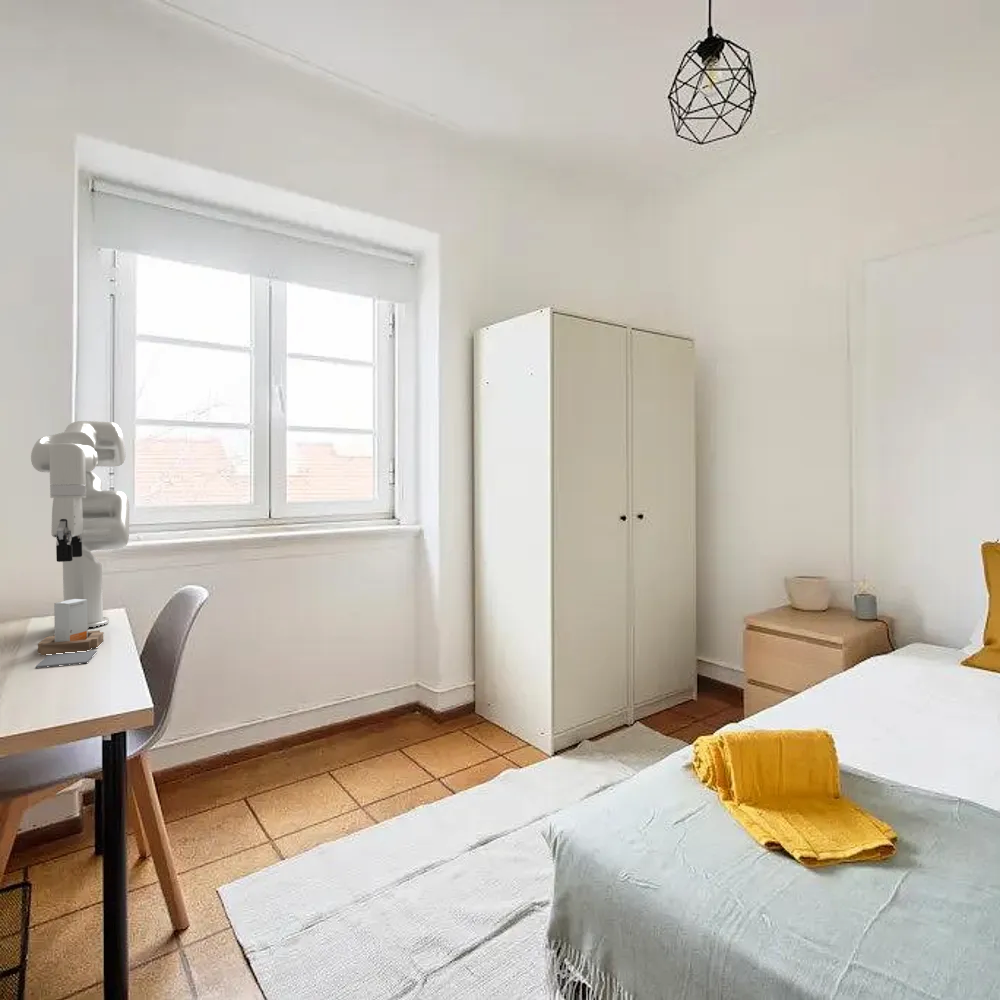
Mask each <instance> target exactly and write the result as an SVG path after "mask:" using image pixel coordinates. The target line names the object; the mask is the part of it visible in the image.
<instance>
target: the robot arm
mask: <svg viewBox="0 0 1000 1000" xmlns="http://www.w3.org/2000/svg"><path fill="white" fill-rule="evenodd" d="M125 447H126V445H125V438H124V434H123V432H122V428H121V427H119V425H118V424H117V423H115V422H112V421H99V420H98V421H95V420H93V421H92V420H78V421H73V422H72V423H71V422H70V423H69V424H68V425H67V426H66V428H65V429H64V431H63V432H60V433H55V434H51V435H50V434H49V435H46V436H43V437H40V438H39V439H37V440H36V442H35V443H34V445H33V447H32V449H31V452H30V460H31V465H32V467H33V469H35V470H36V471H37V472H41V473H49V494H50V495H49V497H50V498H51V499H52V505H51V536H52V537H53V538H56V541H55V542H56V545H55V546H56V547H55V550H56V562H59V563H60V562H61V563H62V582H63V583H62V587H63V601H66V600H72V599H86V600H87V614H88V615H87V617H88V629H90V628H89V627H93V628H97V627H96V626H98V627H101V626H100V625H102V626H105V625H108V624H109V623H110V618H108V617H106V616H104V612H103V611H104V609H103V607H104V606H103V605H104V604H103V599H104V598H103V568H102V563H101V561H100V559H98V557H97V556H95V555H94V554H93V553H92V551H102V550H119V549H123V548H125V547H126V546H127V545H128V543H129V540H130V539H129V537H130V501H129V498H128V496H127V494H126V493H125V492H123V491H120V490H103V483H102V482H103V481H102V480H101V479H100V477H98V476H97V475H96V474H95V473H94V472H93V471H94V469H95V468H97V467H120V466H121V465H123V464H124V463H125V460H126V448H125ZM108 622H109V623H108ZM104 624H105V625H104Z"/></svg>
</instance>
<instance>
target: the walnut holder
mask: <svg viewBox="0 0 1000 1000" xmlns="http://www.w3.org/2000/svg"><path fill="white" fill-rule="evenodd" d="M102 642H103V643H104V631H101V630H88V638H87V639H86V640H76V641H64V642H55V634H53V635H51V636H46V637H44V638H43V639H42V640H40V641H39V642H38V643H37V654H38V653H40V656H41V655H45V656H47V655H46V654H56V653H65V652H77V651H87V650H90V649H91V648H96V647H98V646H99V645H100V644H101V643H102ZM103 643H102V644H103ZM102 644H101V645H102ZM101 645H100V646H101ZM100 646H99V647H100ZM99 647H98V648H99ZM91 650H92V649H91ZM91 650H90V651H91Z"/></svg>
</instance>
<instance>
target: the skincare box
mask: <svg viewBox="0 0 1000 1000" xmlns="http://www.w3.org/2000/svg"><path fill="white" fill-rule="evenodd" d="M53 606H54V612H53V613H54V635H55V642H64V641H76V640H86V639H87V638H88V631H89V630H88V629H89V628H88V617H87V615H88V614H87V600H86V599H72V600H66V601H64V600H62V601H58V602H55V603H54V605H53Z"/></svg>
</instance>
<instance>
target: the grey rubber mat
mask: <svg viewBox="0 0 1000 1000" xmlns="http://www.w3.org/2000/svg"><path fill="white" fill-rule="evenodd" d="M96 652H98V650H90V651H86V652H75V653H63V654H52V655H46V656H45V657H44V658H43V659H42V660H41V661H40V662H39V663H37V665H35V669H38V668H37V667H46V668H48V667H47V666H57V667H60V666H59V665H67V666H70V665H69V664H78V665H80V664H79V663H87V662H88V661H89V660H90V659H91V658H92V656H93V655H94V654H95V653H96ZM96 654H97V653H96ZM96 654H95V655H96ZM95 655H94V656H95ZM94 656H93V657H94ZM92 659H93V658H92ZM92 659H91V660H92ZM91 660H90V661H91ZM90 661H89V662H90ZM89 662H88V663H89ZM88 663H87V664H88Z"/></svg>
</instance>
